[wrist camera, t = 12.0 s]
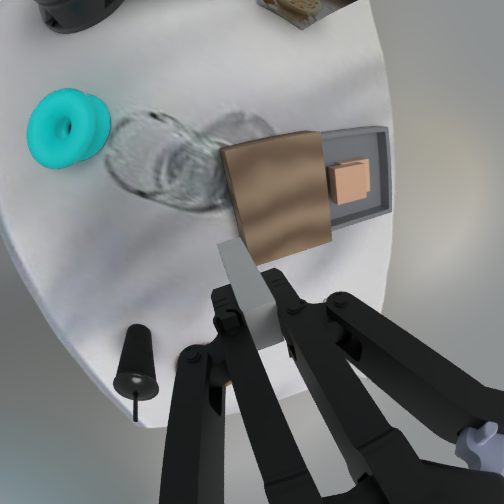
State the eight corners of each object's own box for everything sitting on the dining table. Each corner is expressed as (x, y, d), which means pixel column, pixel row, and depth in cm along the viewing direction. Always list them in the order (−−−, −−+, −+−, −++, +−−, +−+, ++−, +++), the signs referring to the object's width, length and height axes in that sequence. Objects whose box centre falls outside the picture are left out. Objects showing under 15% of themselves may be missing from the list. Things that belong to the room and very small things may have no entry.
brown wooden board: (219, 148, 38) (224, 151, 33) (304, 130, 40) (319, 131, 35) (244, 253, 46) (252, 267, 42) (318, 230, 48) (332, 241, 44)
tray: (306, 134, 40) (315, 135, 37) (377, 125, 42) (387, 126, 39) (319, 226, 48) (327, 232, 45) (382, 207, 50) (391, 211, 47)
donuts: (109, 116, 23) (60, 187, 25) (125, 119, 32) (85, 172, 33) (55, 72, 19) (11, 143, 20) (82, 83, 27) (44, 137, 29)
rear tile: (368, 158, 42) (361, 157, 44) (340, 163, 41) (334, 161, 43) (370, 191, 45) (363, 188, 46) (343, 197, 44) (337, 194, 46)
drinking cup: (148, 351, 50) (149, 435, 33) (115, 337, 47) (104, 422, 30) (164, 328, 49) (169, 417, 32) (129, 312, 45) (119, 402, 28)
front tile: (364, 163, 40) (357, 161, 42) (334, 169, 39) (328, 167, 41) (366, 197, 43) (359, 194, 44) (337, 205, 42) (331, 201, 44)
